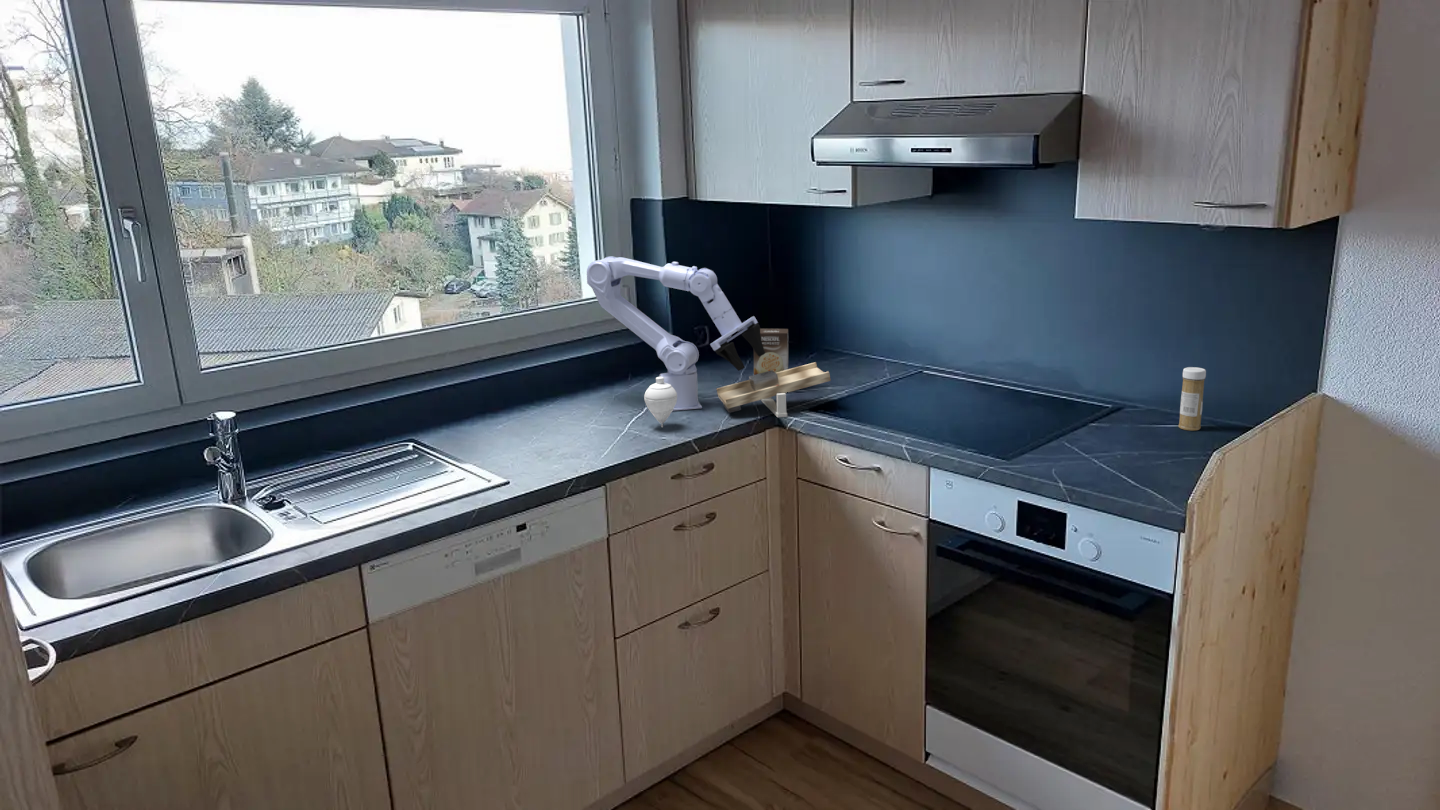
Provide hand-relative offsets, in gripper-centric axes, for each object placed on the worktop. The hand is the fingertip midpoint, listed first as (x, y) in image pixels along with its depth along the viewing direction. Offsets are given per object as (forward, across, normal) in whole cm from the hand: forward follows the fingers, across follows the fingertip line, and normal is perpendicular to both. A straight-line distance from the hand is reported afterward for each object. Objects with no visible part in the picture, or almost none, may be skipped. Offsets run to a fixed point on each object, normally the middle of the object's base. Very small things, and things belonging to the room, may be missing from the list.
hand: (752, 362), depth 246 cm
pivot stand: (+13, 0, +2) cm, 13 cm away
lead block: (+7, 0, +1) cm, 7 cm away
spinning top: (+1, -28, +7) cm, 28 cm away
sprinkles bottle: (+62, +44, -65) cm, 100 cm away
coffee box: (+11, +12, +16) cm, 23 cm away
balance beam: (+10, +1, +1) cm, 10 cm away
